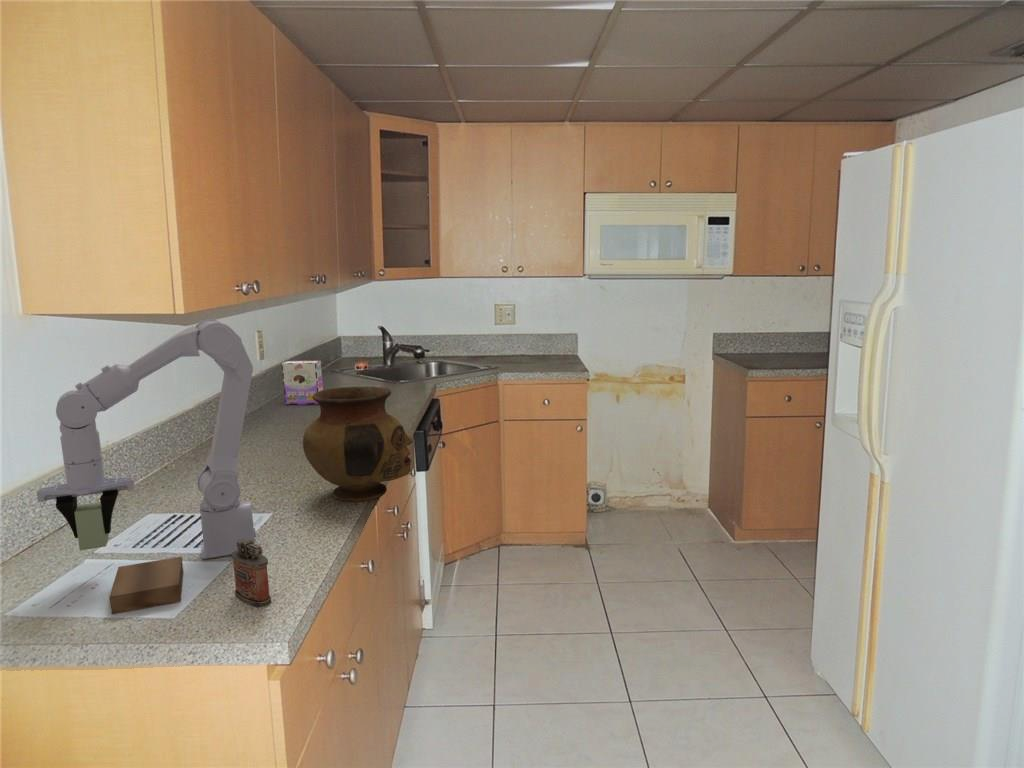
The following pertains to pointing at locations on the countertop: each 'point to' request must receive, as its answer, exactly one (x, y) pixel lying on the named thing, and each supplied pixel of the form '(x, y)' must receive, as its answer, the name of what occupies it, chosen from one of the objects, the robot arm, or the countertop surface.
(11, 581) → the countertop surface
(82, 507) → the block
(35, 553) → the countertop surface
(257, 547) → the lighter
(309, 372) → the candy box
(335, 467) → the pot
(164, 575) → the plinth
